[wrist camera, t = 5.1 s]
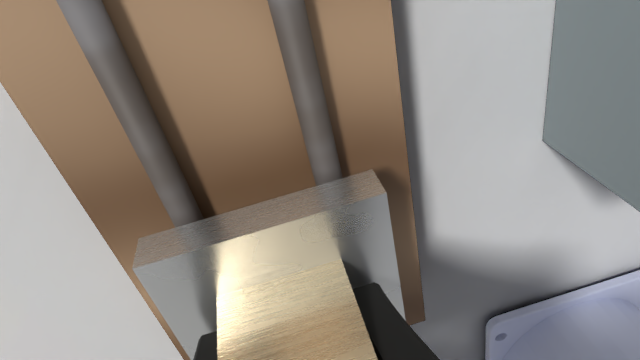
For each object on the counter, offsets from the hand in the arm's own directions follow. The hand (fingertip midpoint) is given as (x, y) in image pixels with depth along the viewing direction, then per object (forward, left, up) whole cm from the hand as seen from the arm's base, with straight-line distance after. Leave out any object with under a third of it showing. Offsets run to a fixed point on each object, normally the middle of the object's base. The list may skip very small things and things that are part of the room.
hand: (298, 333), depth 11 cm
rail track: (+3, 0, -4) cm, 5 cm away
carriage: (0, 0, -1) cm, 1 cm away
